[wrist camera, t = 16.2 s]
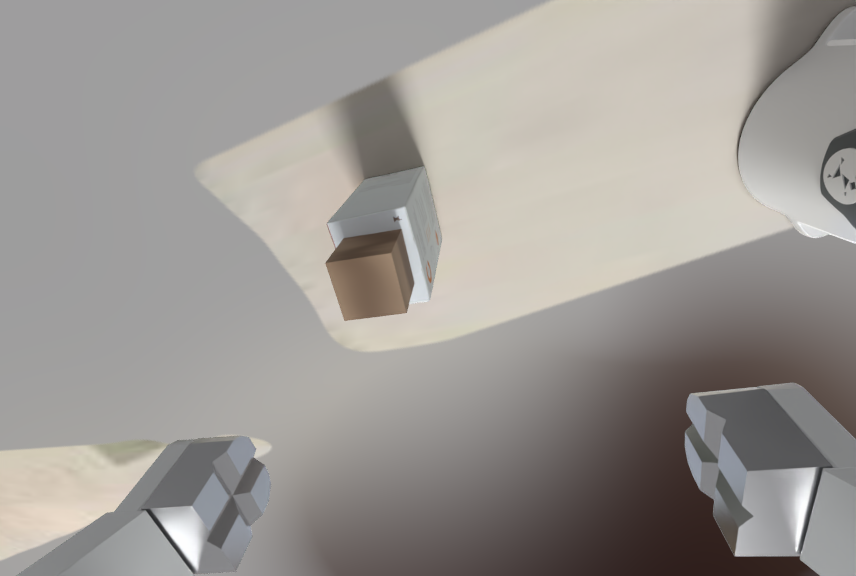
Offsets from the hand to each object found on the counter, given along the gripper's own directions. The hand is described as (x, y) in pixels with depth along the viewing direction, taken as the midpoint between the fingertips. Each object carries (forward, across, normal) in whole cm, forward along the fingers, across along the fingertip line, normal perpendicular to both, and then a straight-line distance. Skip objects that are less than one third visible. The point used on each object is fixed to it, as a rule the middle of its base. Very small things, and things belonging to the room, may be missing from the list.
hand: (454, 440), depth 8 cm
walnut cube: (+24, +8, +6) cm, 26 cm away
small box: (+37, +8, +6) cm, 39 cm away
